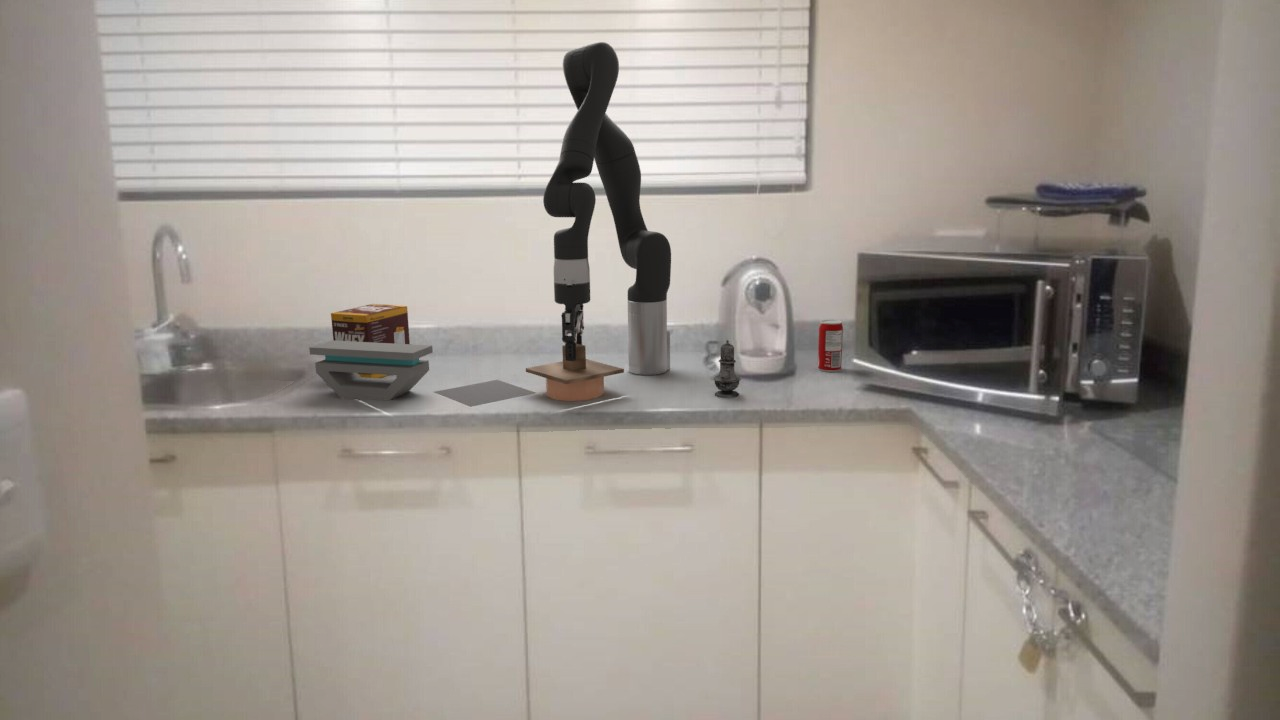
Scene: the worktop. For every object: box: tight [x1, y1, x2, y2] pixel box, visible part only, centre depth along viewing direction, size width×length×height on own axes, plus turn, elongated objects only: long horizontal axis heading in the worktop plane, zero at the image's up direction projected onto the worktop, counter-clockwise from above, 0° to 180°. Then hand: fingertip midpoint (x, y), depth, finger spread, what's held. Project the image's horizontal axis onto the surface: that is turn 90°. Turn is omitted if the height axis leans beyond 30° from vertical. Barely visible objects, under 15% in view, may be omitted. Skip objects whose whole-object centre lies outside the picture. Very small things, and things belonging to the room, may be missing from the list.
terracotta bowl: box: [545, 377, 605, 402], centre depth 183 cm, size 12×12×5 cm
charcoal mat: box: [434, 379, 537, 407], centre depth 185 cm, size 16×16×1 cm
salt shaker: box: [712, 339, 742, 399], centre depth 182 cm, size 6×6×12 cm
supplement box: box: [330, 303, 411, 379], centre depth 205 cm, size 10×15×16 cm
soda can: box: [817, 319, 844, 373], centre depth 203 cm, size 6×6×12 cm
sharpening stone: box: [308, 339, 433, 401], centre depth 184 cm, size 25×8×11 cm, turn 74°
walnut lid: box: [525, 344, 625, 384], centre depth 182 cm, size 15×15×6 cm
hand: (574, 356), depth 182 cm, fingers open, 8 cm apart
